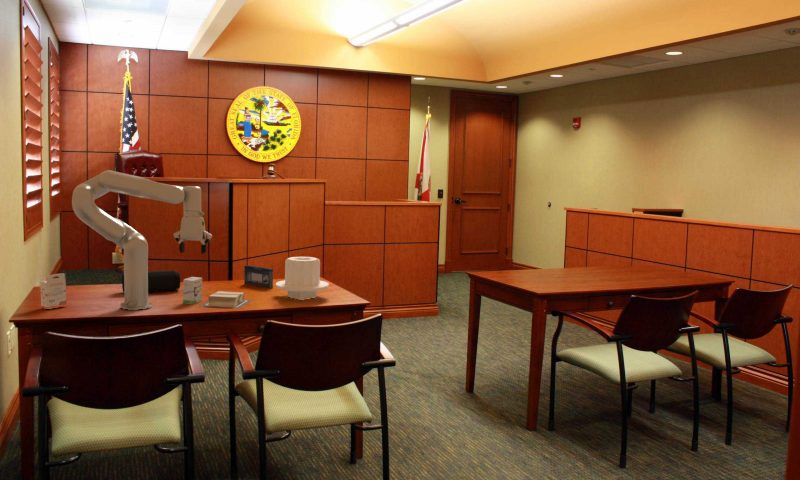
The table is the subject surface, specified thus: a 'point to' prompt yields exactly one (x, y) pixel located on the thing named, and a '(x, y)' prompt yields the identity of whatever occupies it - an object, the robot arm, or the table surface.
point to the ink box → (192, 290)
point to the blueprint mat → (228, 306)
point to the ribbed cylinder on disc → (302, 278)
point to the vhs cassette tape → (258, 276)
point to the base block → (226, 298)
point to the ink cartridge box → (53, 290)
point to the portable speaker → (161, 281)
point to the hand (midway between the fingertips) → (192, 253)
